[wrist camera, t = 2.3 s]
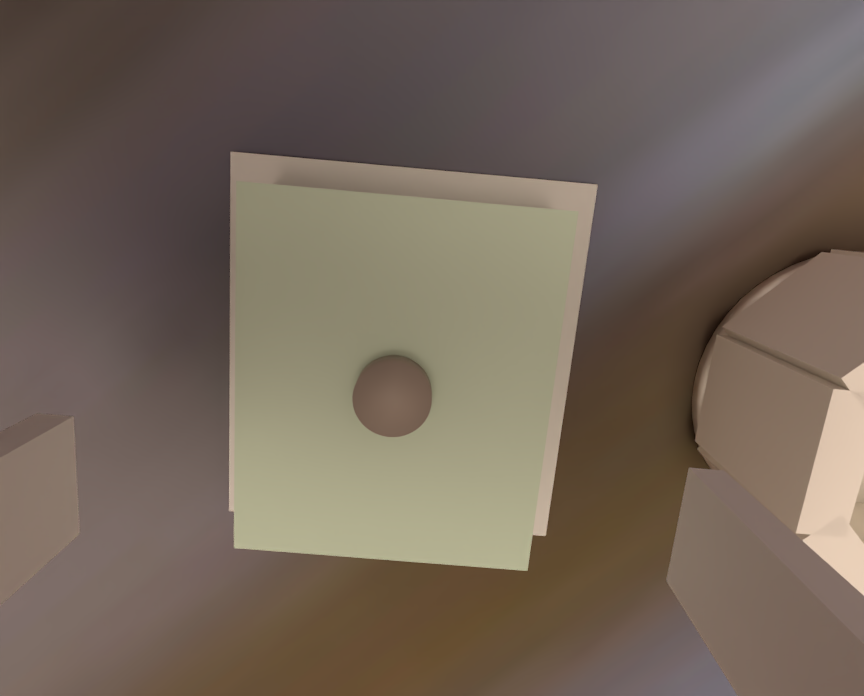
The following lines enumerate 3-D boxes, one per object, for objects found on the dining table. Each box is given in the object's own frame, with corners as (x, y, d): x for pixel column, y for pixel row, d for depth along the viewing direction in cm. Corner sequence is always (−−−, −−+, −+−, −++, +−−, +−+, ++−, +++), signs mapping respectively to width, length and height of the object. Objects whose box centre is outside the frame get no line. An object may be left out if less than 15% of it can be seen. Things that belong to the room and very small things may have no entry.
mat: (234, 152, 21) (230, 151, 21) (594, 184, 21) (597, 184, 21) (232, 506, 24) (228, 511, 24) (543, 530, 25) (545, 535, 24)
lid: (272, 184, 21) (226, 179, 16) (551, 209, 21) (585, 212, 16) (266, 491, 24) (225, 561, 19) (512, 511, 24) (531, 585, 19)
